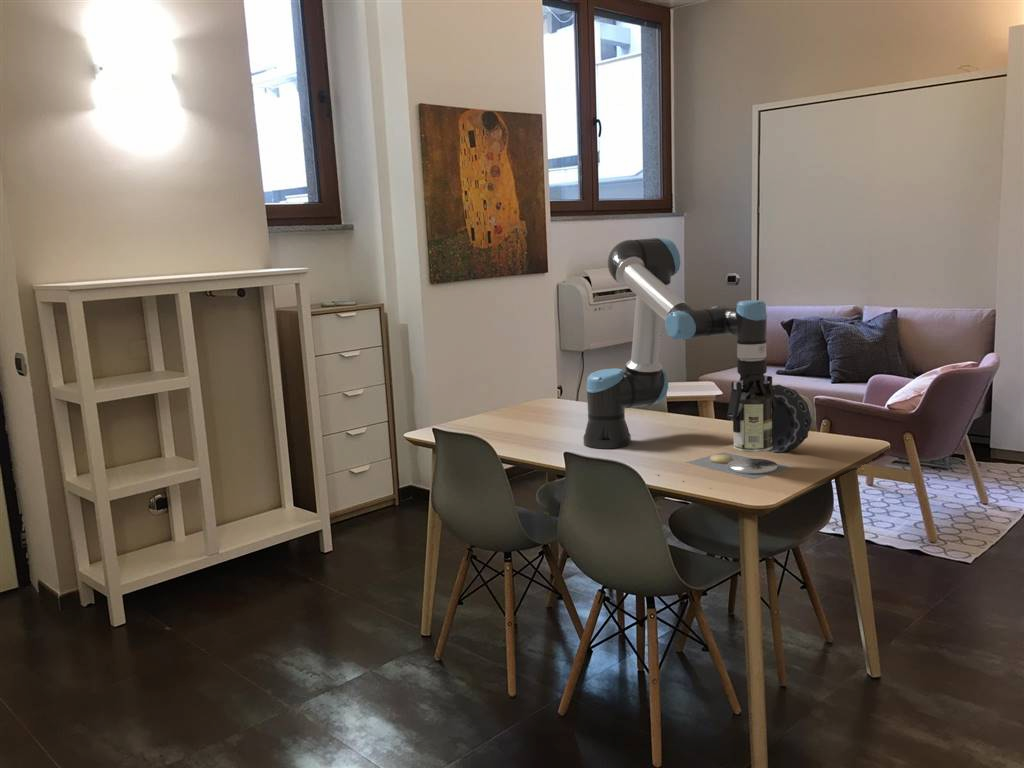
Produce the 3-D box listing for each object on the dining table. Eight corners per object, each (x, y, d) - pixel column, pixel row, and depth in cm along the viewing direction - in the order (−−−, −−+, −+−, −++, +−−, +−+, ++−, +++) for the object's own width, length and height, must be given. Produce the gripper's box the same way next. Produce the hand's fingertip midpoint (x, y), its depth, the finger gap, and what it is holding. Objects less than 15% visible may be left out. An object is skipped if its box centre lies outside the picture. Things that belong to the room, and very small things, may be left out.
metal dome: (717, 468, 240) (717, 464, 239) (749, 459, 247) (749, 456, 247) (755, 477, 229) (755, 473, 229) (787, 468, 236) (787, 464, 236)
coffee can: (759, 441, 243) (759, 391, 241) (779, 449, 233) (779, 397, 231) (726, 445, 241) (725, 395, 238) (744, 454, 231) (744, 401, 228)
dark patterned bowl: (750, 445, 269) (750, 380, 266) (815, 452, 256) (815, 385, 253) (735, 452, 261) (734, 386, 258) (801, 461, 248) (801, 391, 245)
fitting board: (685, 467, 247) (685, 458, 247) (724, 457, 256) (724, 448, 256) (753, 484, 228) (753, 475, 228) (792, 472, 237) (792, 463, 237)
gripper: (734, 365, 224) (735, 450, 227) (790, 355, 236) (790, 435, 240) (711, 362, 230) (713, 445, 233) (768, 352, 242) (768, 431, 246)
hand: (752, 440), depth 237 cm, fingers closed on coffee can, 10 cm apart
